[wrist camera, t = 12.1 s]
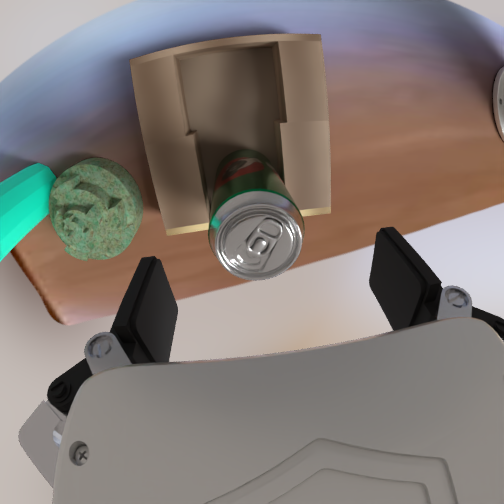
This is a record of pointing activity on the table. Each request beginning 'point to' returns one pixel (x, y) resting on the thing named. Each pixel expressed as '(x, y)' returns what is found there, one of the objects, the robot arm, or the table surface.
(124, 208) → the decorative artifact
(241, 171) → the soda can
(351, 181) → the table surface
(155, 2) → the table surface
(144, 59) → the open cardboard box
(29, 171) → the candle
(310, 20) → the table surface
